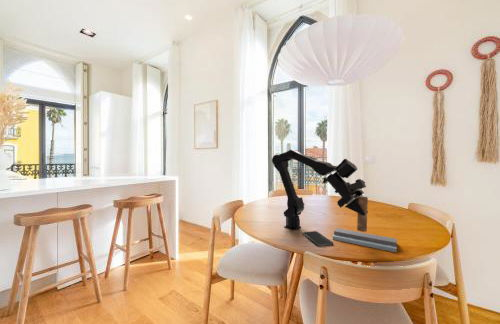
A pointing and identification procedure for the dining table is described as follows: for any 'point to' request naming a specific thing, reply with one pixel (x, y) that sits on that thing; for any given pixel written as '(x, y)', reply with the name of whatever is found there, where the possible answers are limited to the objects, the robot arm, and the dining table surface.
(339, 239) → the stand
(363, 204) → the walnut dowel
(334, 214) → the dining table surface
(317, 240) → the phone
